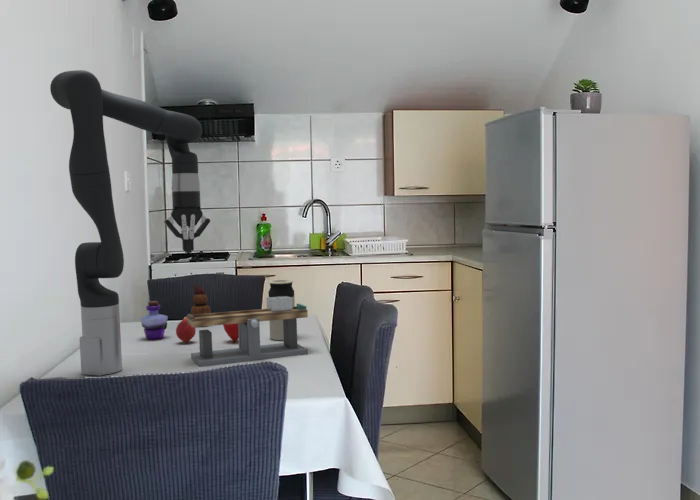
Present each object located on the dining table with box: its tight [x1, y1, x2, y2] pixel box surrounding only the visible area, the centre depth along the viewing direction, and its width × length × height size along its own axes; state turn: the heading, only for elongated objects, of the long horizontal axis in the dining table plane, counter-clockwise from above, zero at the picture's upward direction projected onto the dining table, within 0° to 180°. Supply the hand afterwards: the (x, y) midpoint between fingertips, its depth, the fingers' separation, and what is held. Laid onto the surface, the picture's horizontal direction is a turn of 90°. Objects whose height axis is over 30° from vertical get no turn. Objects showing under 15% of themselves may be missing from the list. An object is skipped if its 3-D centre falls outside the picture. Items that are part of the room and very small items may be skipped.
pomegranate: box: [175, 316, 196, 344], centre depth 207 cm, size 6×6×8 cm
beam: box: [186, 303, 309, 328], centre depth 187 cm, size 32×8×3 cm, turn 113°
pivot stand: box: [190, 318, 309, 367], centre depth 187 cm, size 30×14×11 cm, turn 113°
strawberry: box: [223, 310, 239, 343], centre depth 206 cm, size 6×8×10 cm
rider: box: [266, 296, 293, 313], centre depth 191 cm, size 6×5×4 cm
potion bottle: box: [139, 300, 169, 341], centre depth 215 cm, size 9×9×12 cm
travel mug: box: [267, 279, 296, 342], centre depth 210 cm, size 8×8×18 cm
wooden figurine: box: [190, 283, 212, 315], centre depth 235 cm, size 7×6×15 cm
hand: (188, 252), depth 188 cm, fingers closed
